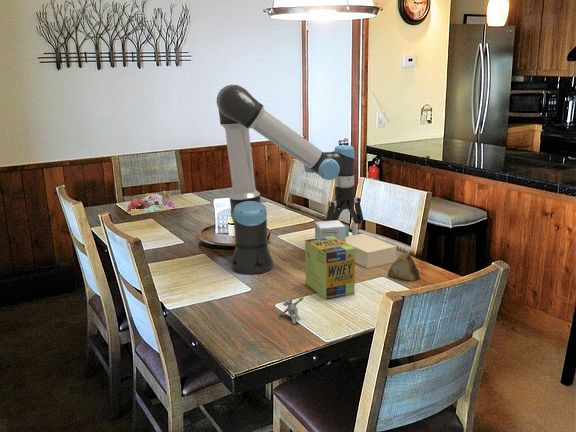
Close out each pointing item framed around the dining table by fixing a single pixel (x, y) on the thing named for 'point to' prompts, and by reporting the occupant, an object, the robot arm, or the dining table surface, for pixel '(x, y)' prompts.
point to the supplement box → (330, 230)
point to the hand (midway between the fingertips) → (344, 240)
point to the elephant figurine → (292, 309)
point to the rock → (404, 268)
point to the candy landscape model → (151, 202)
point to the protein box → (330, 267)
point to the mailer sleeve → (371, 250)
